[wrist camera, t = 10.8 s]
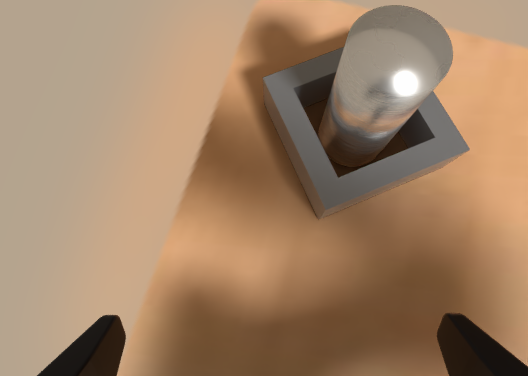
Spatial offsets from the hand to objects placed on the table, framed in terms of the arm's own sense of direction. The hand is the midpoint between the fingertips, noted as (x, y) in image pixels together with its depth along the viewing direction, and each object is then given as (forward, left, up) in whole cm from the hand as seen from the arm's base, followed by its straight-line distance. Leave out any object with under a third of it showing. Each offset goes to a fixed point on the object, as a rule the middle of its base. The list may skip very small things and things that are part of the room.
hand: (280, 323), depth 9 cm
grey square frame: (+9, -10, -14) cm, 19 cm away
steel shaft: (+9, -10, -14) cm, 19 cm away
